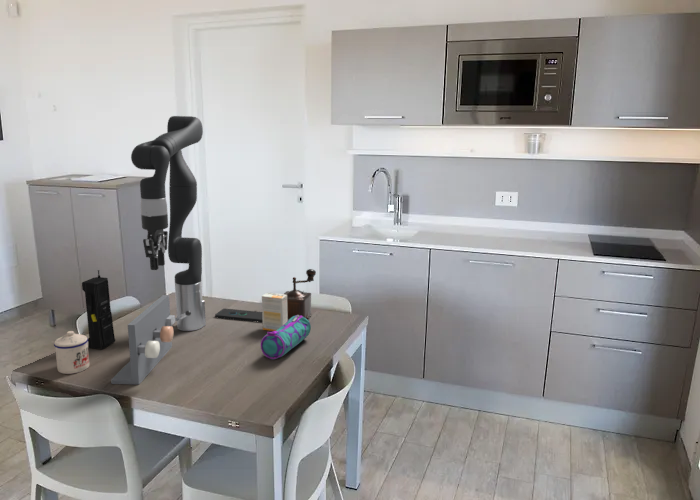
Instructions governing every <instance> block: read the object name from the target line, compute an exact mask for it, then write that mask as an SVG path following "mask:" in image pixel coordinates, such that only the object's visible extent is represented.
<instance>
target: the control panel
mask: <svg viewBox="0 0 700 500" xmlns="http://www.w3.org/2000/svg"><path fill="white" fill-rule="evenodd" d="M170 302H171V301H170V295H169V294H162V295H161V296H160V297H159V298H158V299H157V300H155V301H154V302H153V303H152V304H151V305H149V306H148V307H147V308H146V309H144V310H143V311H142V312H141V313H140V314H138V316H136V317H135V318H134V319H133V320H132V321H130V322H129V323H128V324H127V334H128V346H129V347H128V348H129V349H128V351H129V361H128V363H126V364H125V365H124V366H123V367H122V368H121V369H120V370H119V371H118V372H117V373H116V374H115V375H114V376H113V377H112V378H111V379H110V381H111V383H110V384H113V385H140V384H141V383H142V382H143V381H144V380H145V379H146V377H147V376H148V375H149V374H150V372H152V370H153V369H154V368H155V367H156V366H157V364H159V362H160V361H161V360H162V359H163V358H164V357H165V355H166V354H167V353H168V352H169V351H170V350H171V348H173V340H172V341H171V342H161V340H160V338H153V331H154V330H161V328H162V327H163V326H172V327H173V325H174V324H175V323H176V321H175V318H176V314H175V315H174V314H171V305H170ZM148 341H158V342H159V344H160V351H159V355H158V357H157V358H147V357H146V356H145V353H138V350H137V346H138V345H146V343H147V342H148Z"/></svg>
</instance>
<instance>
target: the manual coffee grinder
mask: <svg viewBox="0 0 700 500" xmlns="http://www.w3.org/2000/svg"><path fill="white" fill-rule="evenodd" d="M305 274H306V275H307V279H306V280H297V277H295V276H294V277H292V283H293V284H292V285H293V287H292V290H287V291H285V292H284V293H283V294H284V295H287V313H288V319H290V318H291V317H293V316H296V315H299V316H302V317H304V318H306V319H307V320H308V319H310V318H311V317H310V315H311V316H312V293H311V292H305V291H304V290H303V291H301V290H300V289H297V284H301V283H311V282H314V277H315V276H316V274H317V273H316V270H315V269H313V268H308V269H307V270H306V271H305ZM308 321H309V320H308Z"/></svg>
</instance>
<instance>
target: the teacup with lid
mask: <svg viewBox="0 0 700 500" xmlns="http://www.w3.org/2000/svg"><path fill="white" fill-rule="evenodd" d="M88 338H89V337H88V336H86V335H84V334H81V333H80V334H79V333H75V331H73V330H69V331H67V332H66V333H65V335H63V336H61V337H59V338H56V339H55V341H54V343H53V346H54V348H55V358H56V367H57V371H58V372H59V373H60V374H63V375H65V374H67V375H72V374H77V373H80V372H83V371H85V370H87V369H89V367H90V354H89V347H88Z"/></svg>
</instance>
